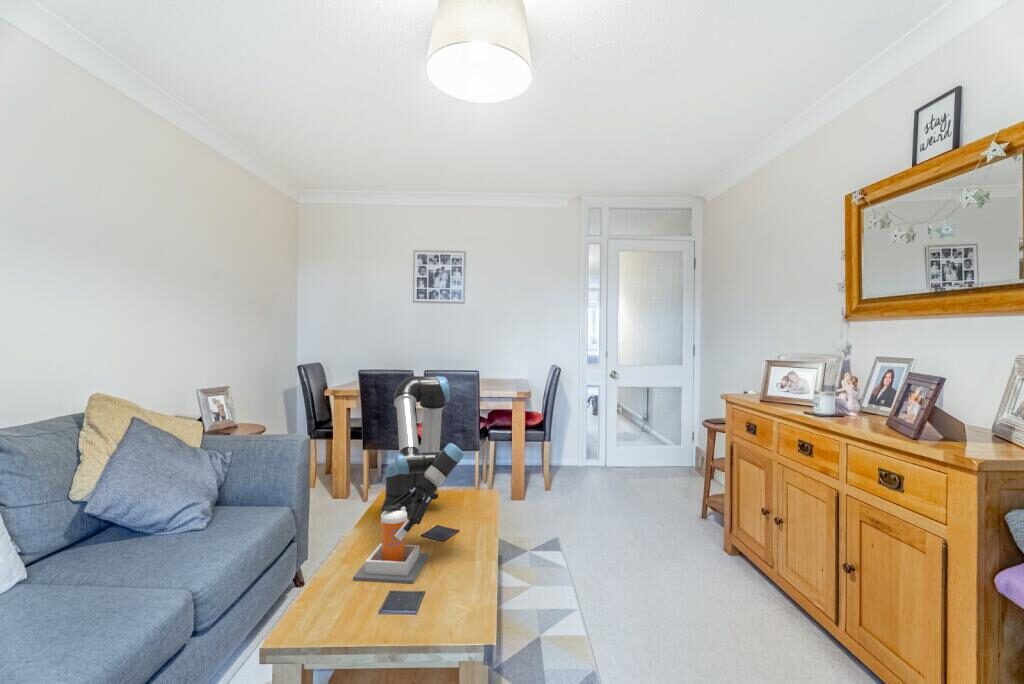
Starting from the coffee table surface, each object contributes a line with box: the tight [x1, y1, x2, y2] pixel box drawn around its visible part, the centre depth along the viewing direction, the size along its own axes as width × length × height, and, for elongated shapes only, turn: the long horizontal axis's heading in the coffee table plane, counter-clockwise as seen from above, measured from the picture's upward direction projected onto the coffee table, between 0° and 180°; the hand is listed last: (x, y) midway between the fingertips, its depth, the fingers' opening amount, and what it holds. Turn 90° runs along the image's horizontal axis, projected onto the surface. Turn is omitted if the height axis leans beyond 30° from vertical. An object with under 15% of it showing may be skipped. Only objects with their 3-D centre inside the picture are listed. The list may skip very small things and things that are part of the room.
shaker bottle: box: [380, 504, 408, 562], centre depth 160 cm, size 9×9×20 cm
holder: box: [352, 542, 429, 584], centre depth 160 cm, size 20×20×5 cm
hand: (389, 531), depth 159 cm, fingers open, 13 cm apart
